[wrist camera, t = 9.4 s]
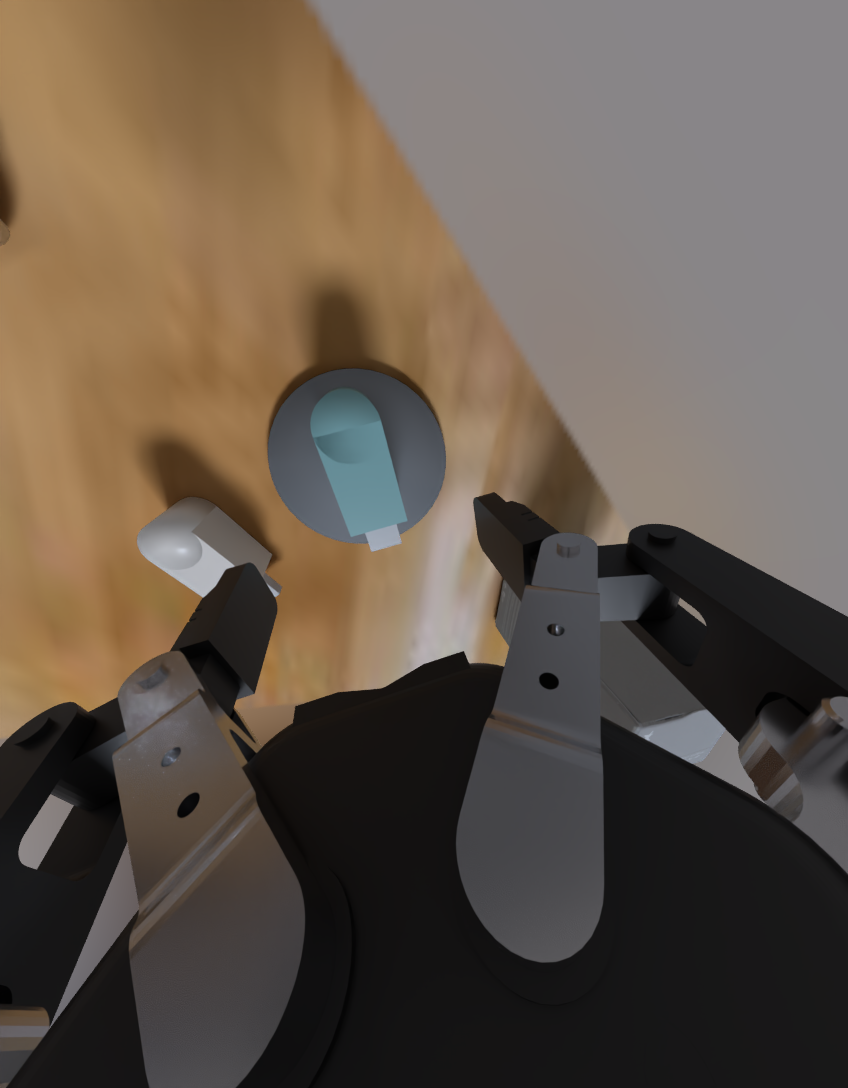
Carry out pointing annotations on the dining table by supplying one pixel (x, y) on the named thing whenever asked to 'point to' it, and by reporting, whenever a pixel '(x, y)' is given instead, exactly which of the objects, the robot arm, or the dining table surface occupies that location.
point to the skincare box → (638, 689)
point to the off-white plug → (201, 545)
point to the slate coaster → (407, 438)
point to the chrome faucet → (4, 233)
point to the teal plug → (359, 465)
